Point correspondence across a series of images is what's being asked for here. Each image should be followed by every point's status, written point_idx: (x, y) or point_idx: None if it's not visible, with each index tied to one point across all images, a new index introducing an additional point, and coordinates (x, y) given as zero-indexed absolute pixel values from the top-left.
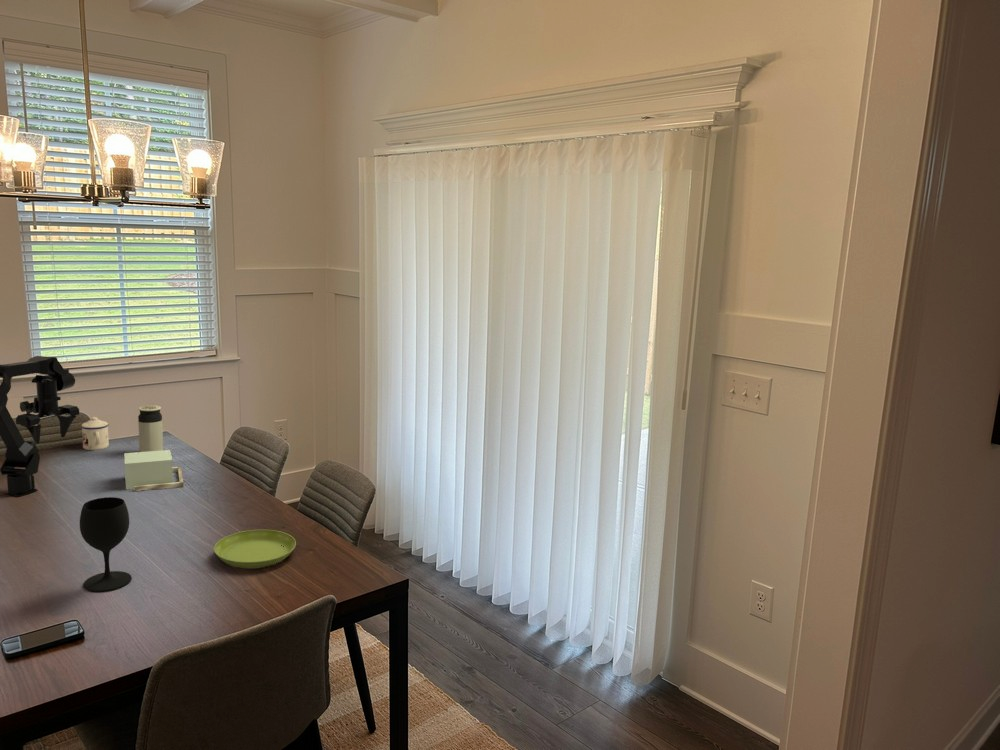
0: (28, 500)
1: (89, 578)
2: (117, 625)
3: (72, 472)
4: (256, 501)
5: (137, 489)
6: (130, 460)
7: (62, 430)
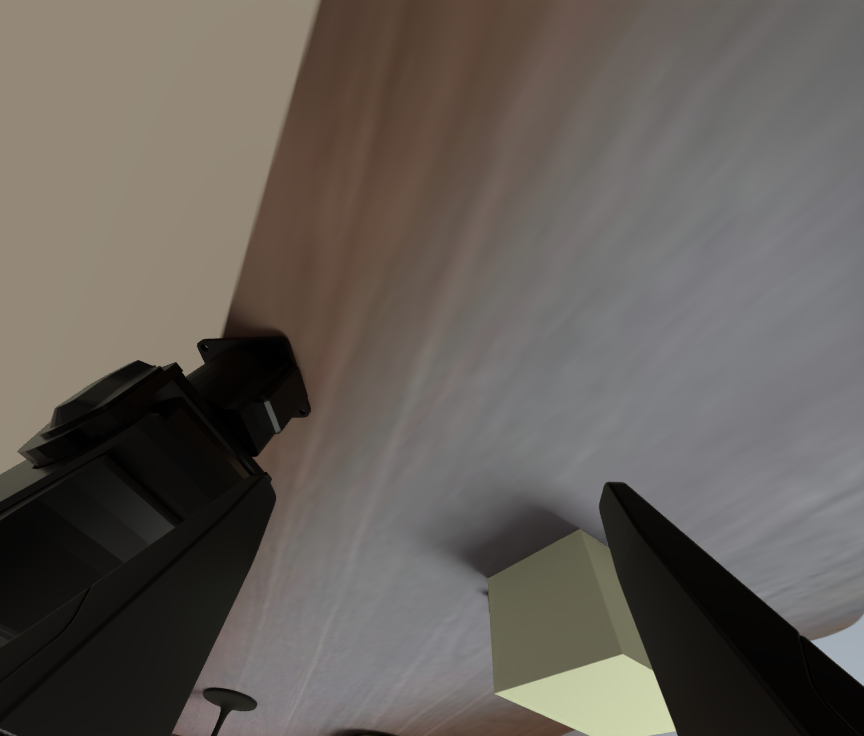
0: None
1: (214, 692)
2: (206, 721)
3: (562, 322)
4: (552, 723)
5: None
6: (538, 691)
7: (650, 599)
